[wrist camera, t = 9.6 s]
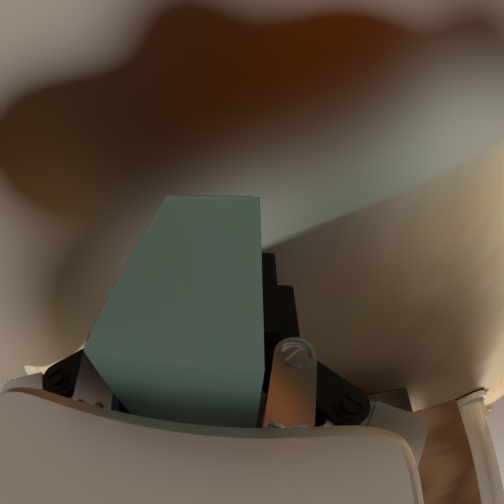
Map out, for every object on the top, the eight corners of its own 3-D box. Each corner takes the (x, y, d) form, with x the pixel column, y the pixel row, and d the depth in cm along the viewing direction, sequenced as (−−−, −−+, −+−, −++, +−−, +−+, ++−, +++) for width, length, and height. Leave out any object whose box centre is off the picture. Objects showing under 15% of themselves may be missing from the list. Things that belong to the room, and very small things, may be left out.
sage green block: (259, 196, 10) (264, 370, 5) (247, 408, 21) (246, 484, 15) (166, 195, 10) (83, 349, 4) (205, 406, 21) (198, 481, 15)
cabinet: (446, 343, 18) (498, 537, 3) (386, 410, 26) (408, 547, 11) (227, 357, 18) (216, 621, 3) (232, 421, 26) (227, 577, 11)
